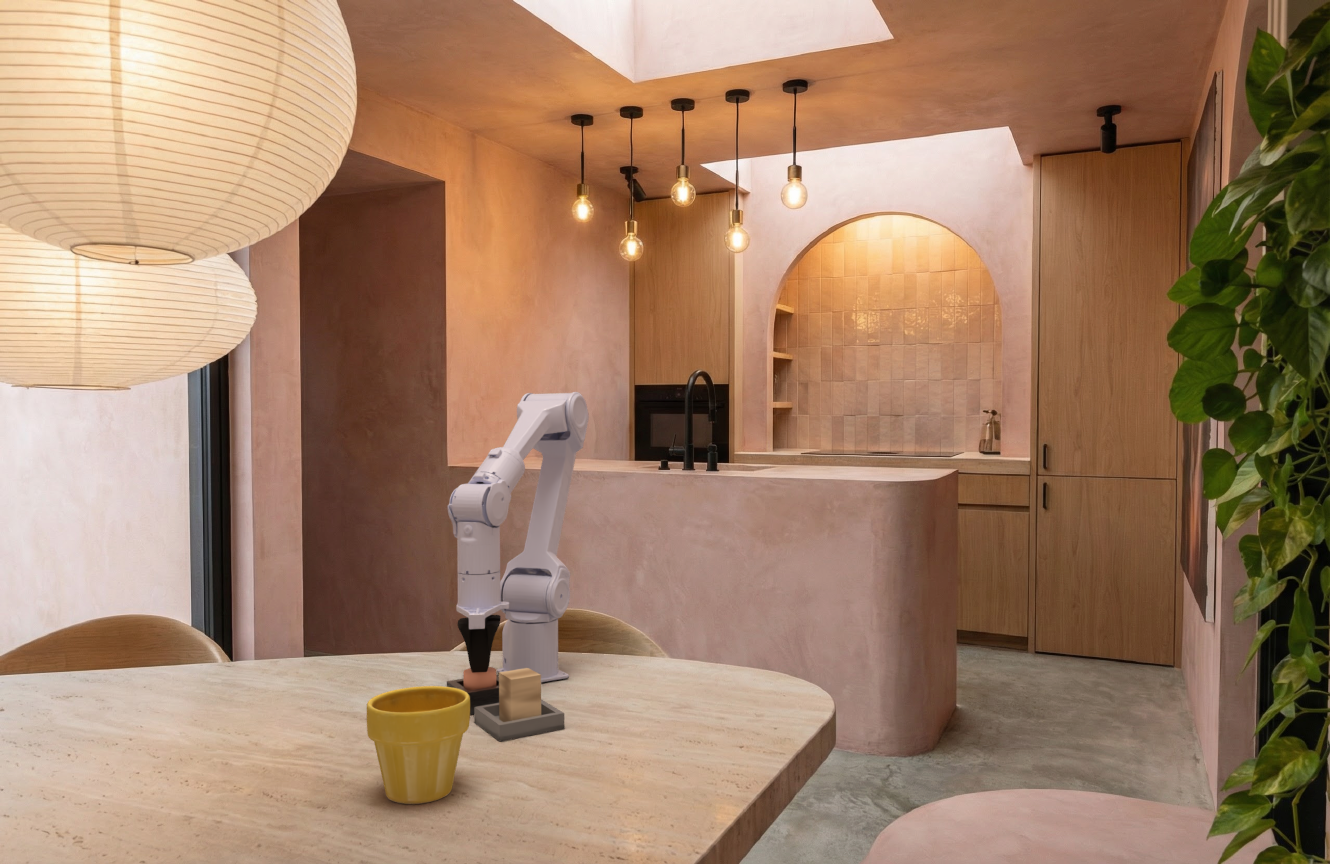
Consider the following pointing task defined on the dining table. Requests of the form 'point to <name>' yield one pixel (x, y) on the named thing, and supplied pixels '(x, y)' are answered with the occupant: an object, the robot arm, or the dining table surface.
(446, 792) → the plant pot
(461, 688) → the button housing
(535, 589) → the robot arm
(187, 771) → the dining table surface
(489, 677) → the button
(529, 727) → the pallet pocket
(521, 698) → the block
